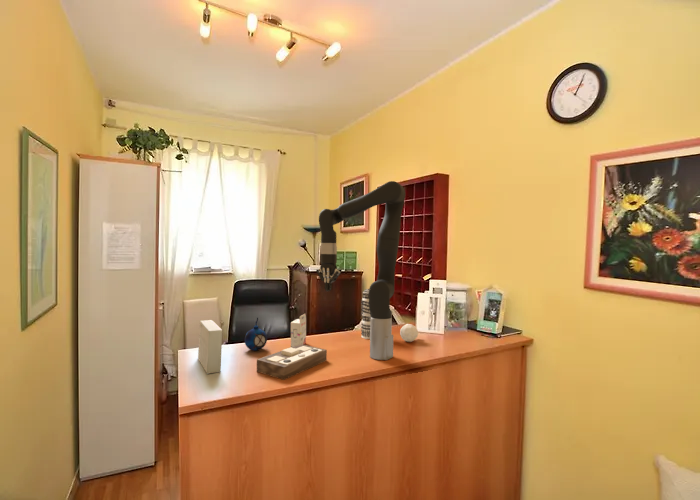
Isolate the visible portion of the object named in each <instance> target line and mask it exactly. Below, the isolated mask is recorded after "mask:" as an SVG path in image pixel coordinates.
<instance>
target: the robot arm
mask: <svg viewBox="0 0 700 500" xmlns="http://www.w3.org/2000/svg"><path fill="white" fill-rule="evenodd" d="M405 198H406V189H405V187H404V186H403V185H402V184H401V183H399V182H397V181H394V180H391V181H388V182H386V183H384V184H381V185H380V186H379V187H377V188H375V189H373V190H372V191H370V192H368V193H366V194H363V195H361V196H358V197H356V198H354V199H351V200H348V201H347V202H343V203H342V204H339V206H338V207H337V208H334V209H329V208H324V209H322V210H321V211H320V212H319V215H318V225H319V229H320V233H321V235H320V251H319V252H320V253H319V254H320V256H319V258H320V260H319V262H320V267H319V268H318V269H316V270H315V272H316V274H317V276H318V277H319V279H320V281H321V282H324V290H325V291H326V292H331V290H332V289H333V288H332V286H333V285H332V284H333V283H334V282H336V281H337V279H338V278H339V276H340V275H341V272H342V271H340V270H339V269H337V268H338V267H337V260H338V258H337V257H338V255H337V254H338V249H337V248H338V247H337V232H336V231H335V230H334V225H338V224H339V223H342V222H343V221H345V220H347V219H350V218H353V217H356V216H358V215H360V214H362V213H364V212H365V211H367V210H369V209H370V208H373V207H375V206H379V205H383V204H385V210H384V216H383V219H382V222H381V225H380V227H379V230H378V235H377V243H376V255H377V262H378V273H377V277H376V281H374V282H372V283H371V284H370V286H369V288H368V289H369V310H370V316H371V317H370V339H369V357H370V358H371V359H373V360H378V361H380V360H381V361H388V360H390V359H391V358H393V357H394V334H392V331H393V330H392V329H393V327H392V326H393V325H392V322H393V321H392V320H393V319H392V318H393V311H392V309H391V305H390V299H391V298H392V297H393V295H394V293H395V278H396V277H395V275H396V274H395V273H396V265H397V258H398V251H399V246H400V245H399V244H400V243H399V242H400V234H401V232H400V231H401V224H402V223H401V221H402V219H401V218H402V211H403V209H404V208H403V207H404V205H405Z"/></svg>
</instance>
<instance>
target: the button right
mask: <svg viewBox="0 0 700 500" xmlns="http://www.w3.org/2000/svg"><path fill="white" fill-rule="evenodd" d="M296 349H299V350H300V351H303V352H305V351H308V350H311V349H312V348H310V347H306V346H302V347H299V348H296Z"/></svg>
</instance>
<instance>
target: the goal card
mask: <svg viewBox="0 0 700 500" xmlns="http://www.w3.org/2000/svg"><path fill="white" fill-rule="evenodd" d="M316 348H317V347H316ZM316 348H313V349H311V350H308V351H305V352H303V353H300V354H298V355H295V356H292V357H290V358H287V359H285V360H282V361H279V362H278V363H280V364H284V365H289V364H291V363H294V362H296V361H299V360H301V359H303V358H306V357H308V356H311V355H313V354H316V353H318V352H321V351H323V350H320V349H316Z"/></svg>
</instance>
